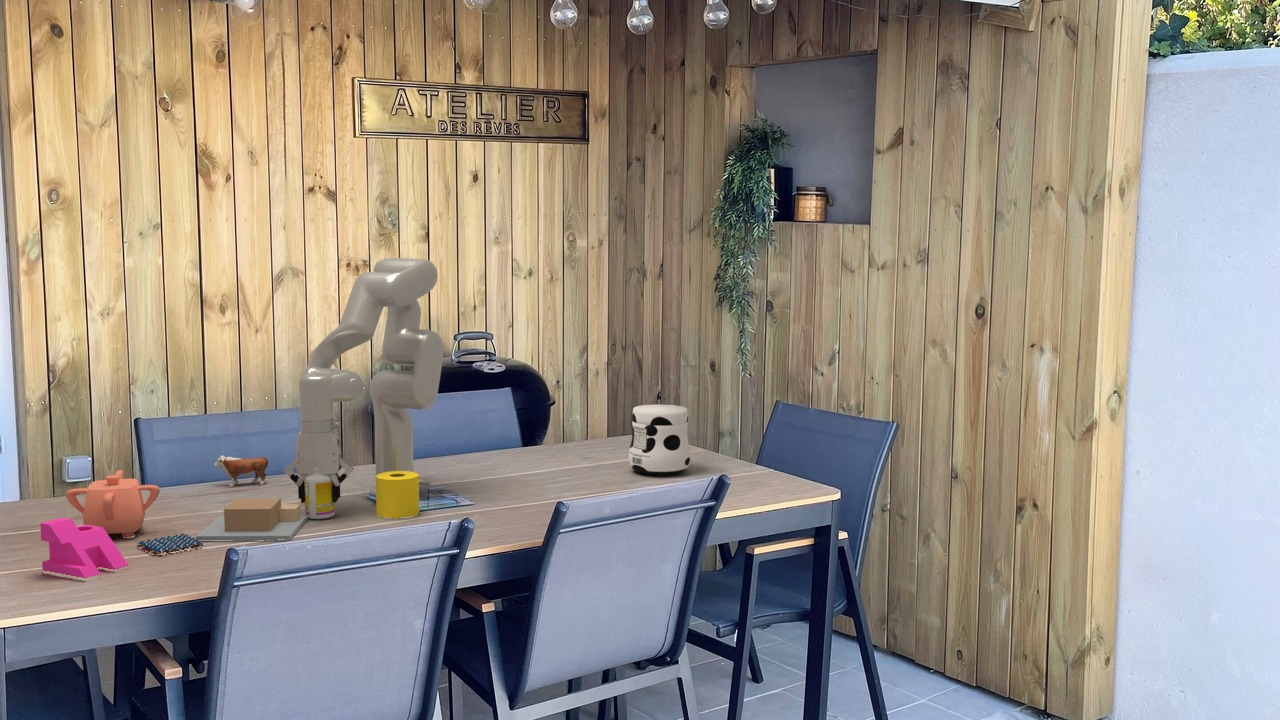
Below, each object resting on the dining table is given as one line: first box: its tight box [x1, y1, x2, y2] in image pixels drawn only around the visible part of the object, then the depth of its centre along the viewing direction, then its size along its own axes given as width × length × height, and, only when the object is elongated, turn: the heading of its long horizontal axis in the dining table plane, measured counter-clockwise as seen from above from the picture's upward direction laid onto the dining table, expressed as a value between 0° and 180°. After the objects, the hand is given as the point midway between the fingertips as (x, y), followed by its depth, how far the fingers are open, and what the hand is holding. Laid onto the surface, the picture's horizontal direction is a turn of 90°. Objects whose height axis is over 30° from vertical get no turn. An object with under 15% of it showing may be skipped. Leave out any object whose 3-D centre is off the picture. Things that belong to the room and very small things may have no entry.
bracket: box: [39, 517, 130, 578], centre depth 240 cm, size 12×10×10 cm
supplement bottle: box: [304, 466, 336, 520], centre depth 284 cm, size 7×7×13 cm
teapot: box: [65, 469, 161, 537], centre depth 268 cm, size 17×16×13 cm
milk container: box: [628, 403, 692, 476], centre depth 338 cm, size 17×17×18 cm
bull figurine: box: [213, 455, 269, 488], centre depth 318 cm, size 4×13×8 cm, turn 108°
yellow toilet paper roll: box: [375, 471, 420, 518], centre depth 288 cm, size 10×10×9 cm
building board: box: [195, 498, 309, 542], centre depth 272 cm, size 20×18×6 cm
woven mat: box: [136, 533, 204, 556], centre depth 257 cm, size 10×11×2 cm
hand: (319, 500), depth 285 cm, fingers closed on supplement bottle, 6 cm apart
